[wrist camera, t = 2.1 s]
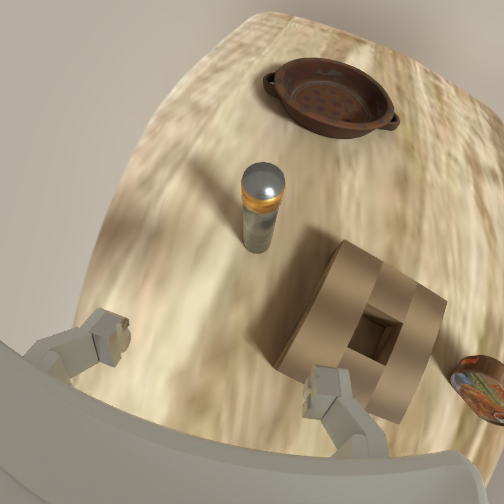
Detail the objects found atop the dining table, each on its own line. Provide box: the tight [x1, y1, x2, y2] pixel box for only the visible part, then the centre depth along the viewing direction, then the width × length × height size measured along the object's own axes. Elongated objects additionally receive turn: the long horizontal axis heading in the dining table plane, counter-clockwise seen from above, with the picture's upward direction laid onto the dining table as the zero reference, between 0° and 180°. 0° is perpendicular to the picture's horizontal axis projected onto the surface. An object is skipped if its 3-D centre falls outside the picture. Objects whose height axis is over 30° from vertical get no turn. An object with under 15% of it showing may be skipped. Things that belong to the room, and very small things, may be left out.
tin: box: [450, 355, 504, 426], centre depth 21 cm, size 15×3×8 cm, turn 45°
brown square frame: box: [273, 240, 447, 424], centre depth 26 cm, size 14×14×4 cm
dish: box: [263, 58, 400, 139], centre depth 37 cm, size 18×22×5 cm
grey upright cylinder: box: [241, 162, 285, 254], centre depth 26 cm, size 3×3×12 cm
